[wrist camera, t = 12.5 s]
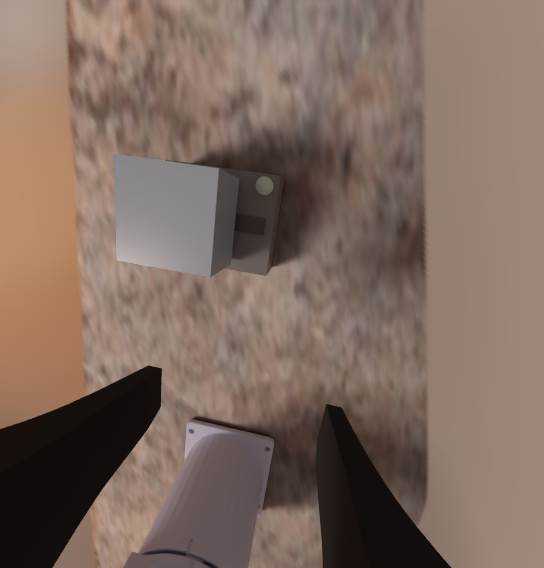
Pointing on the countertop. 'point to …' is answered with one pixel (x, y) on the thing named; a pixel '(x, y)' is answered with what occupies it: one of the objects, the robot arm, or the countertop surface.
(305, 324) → the countertop surface
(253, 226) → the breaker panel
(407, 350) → the countertop surface
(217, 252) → the cap
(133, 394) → the robot arm
